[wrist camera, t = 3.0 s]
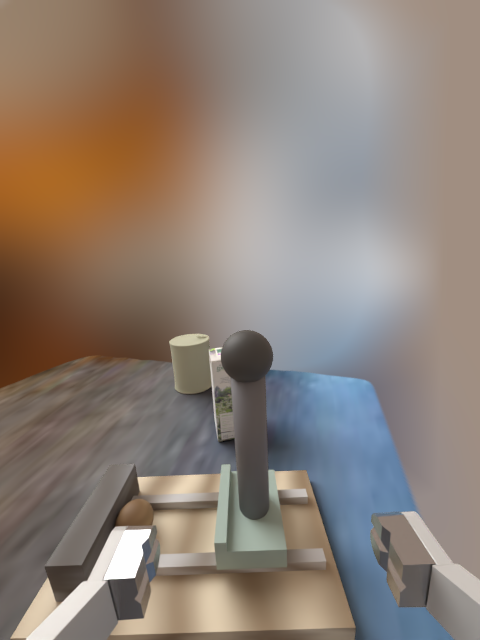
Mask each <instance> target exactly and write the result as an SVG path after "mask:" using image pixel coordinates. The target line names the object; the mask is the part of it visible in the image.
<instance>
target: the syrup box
mask: <svg viewBox="0 0 480 640" xmlns="http://www.w3.org/2000/svg"><path fill="white" fill-rule="evenodd" d="M221 350H222V348H214V349H209V360H210V371H211V383H212V395H213V407H214V419H215V425H216V432H217V438H218V442H220V441H226V440H231V439H235V436H234V422H233V407H232V393H231V378H230V376H229V375H228V374H227V373H226V372H225V370H224V368H223V366H222V363H221Z"/></svg>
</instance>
